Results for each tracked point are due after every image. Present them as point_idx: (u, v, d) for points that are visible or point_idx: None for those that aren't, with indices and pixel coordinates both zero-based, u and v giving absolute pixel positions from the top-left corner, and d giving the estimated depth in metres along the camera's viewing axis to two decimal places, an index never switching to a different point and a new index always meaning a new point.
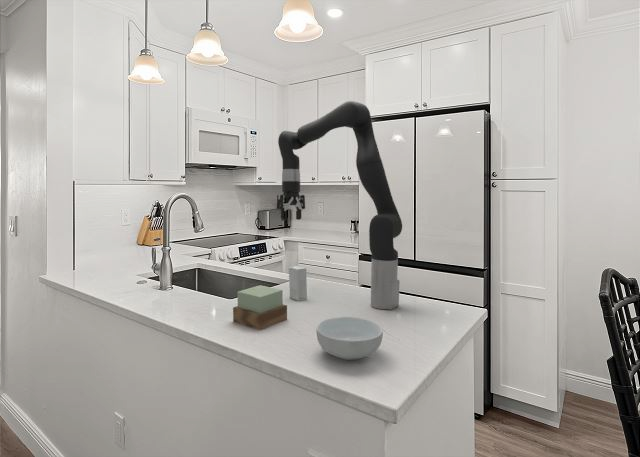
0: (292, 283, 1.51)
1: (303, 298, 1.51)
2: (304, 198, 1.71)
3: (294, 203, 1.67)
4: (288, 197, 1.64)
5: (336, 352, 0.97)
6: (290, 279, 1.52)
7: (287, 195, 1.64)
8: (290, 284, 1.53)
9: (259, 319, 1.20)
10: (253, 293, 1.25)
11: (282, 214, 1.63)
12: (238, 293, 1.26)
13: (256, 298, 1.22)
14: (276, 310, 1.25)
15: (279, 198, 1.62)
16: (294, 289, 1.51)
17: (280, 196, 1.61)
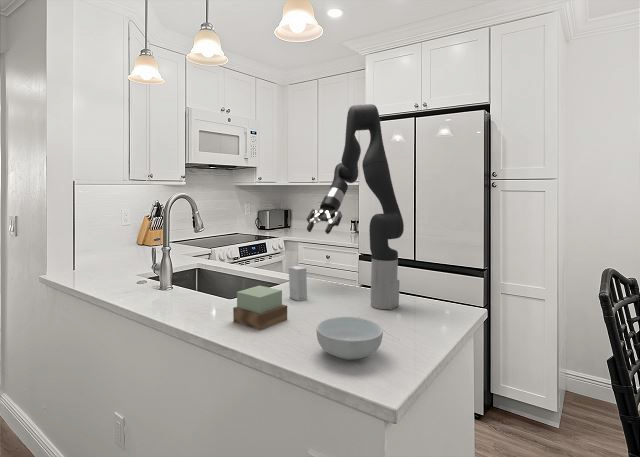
0: (292, 283, 1.51)
1: (303, 298, 1.51)
2: (339, 213, 1.60)
3: (324, 217, 1.62)
4: None
5: (336, 352, 0.97)
6: (290, 279, 1.52)
7: (319, 210, 1.66)
8: (290, 284, 1.53)
9: (259, 319, 1.20)
10: (252, 293, 1.25)
11: None
12: (237, 293, 1.26)
13: (255, 298, 1.22)
14: (276, 310, 1.25)
15: None
16: (294, 289, 1.51)
17: None
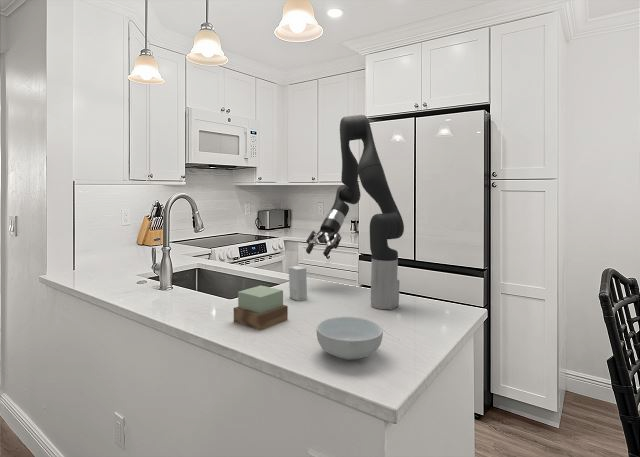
0: (292, 283, 1.51)
1: (303, 298, 1.51)
2: (338, 236, 1.60)
3: (323, 239, 1.62)
4: None
5: (336, 352, 0.97)
6: (290, 279, 1.52)
7: (319, 232, 1.66)
8: (290, 284, 1.53)
9: (260, 319, 1.20)
10: (253, 293, 1.25)
11: None
12: (239, 293, 1.27)
13: (256, 298, 1.22)
14: (277, 310, 1.25)
15: None
16: (294, 289, 1.51)
17: None
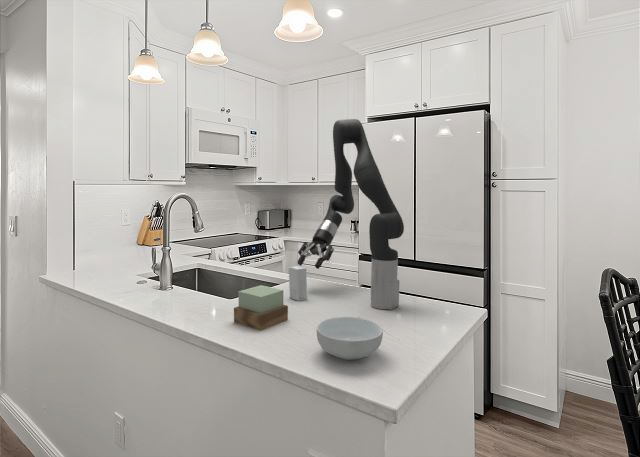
0: (292, 283, 1.51)
1: (303, 298, 1.51)
2: (330, 248, 1.56)
3: (315, 250, 1.59)
4: None
5: (336, 352, 0.97)
6: (290, 279, 1.52)
7: (311, 243, 1.63)
8: (290, 284, 1.53)
9: (260, 319, 1.20)
10: (254, 293, 1.25)
11: None
12: (239, 293, 1.26)
13: (256, 297, 1.22)
14: (277, 310, 1.25)
15: None
16: (294, 289, 1.51)
17: None
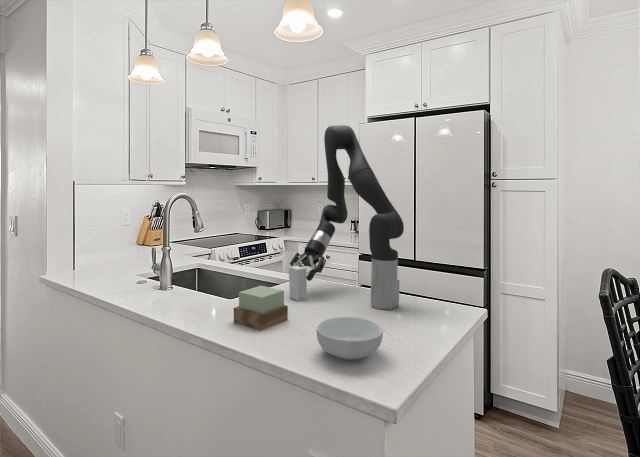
0: (292, 283, 1.51)
1: (303, 298, 1.51)
2: (322, 259, 1.52)
3: (307, 262, 1.55)
4: (303, 256, 1.58)
5: (336, 352, 0.97)
6: (290, 279, 1.52)
7: (303, 254, 1.59)
8: (290, 284, 1.53)
9: (260, 320, 1.20)
10: (254, 293, 1.24)
11: None
12: (239, 293, 1.26)
13: (257, 298, 1.21)
14: (277, 310, 1.25)
15: None
16: (294, 289, 1.51)
17: None
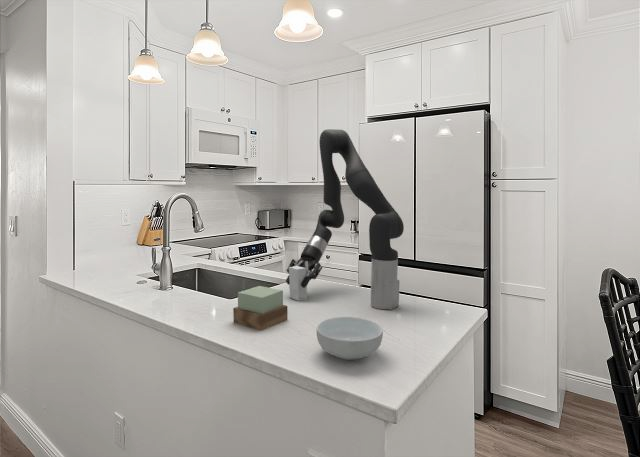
0: (292, 282, 1.51)
1: (303, 298, 1.51)
2: (317, 266, 1.51)
3: (303, 267, 1.54)
4: None
5: (336, 352, 0.97)
6: (290, 279, 1.52)
7: (299, 259, 1.57)
8: (290, 284, 1.53)
9: (260, 320, 1.20)
10: (254, 294, 1.24)
11: None
12: (238, 294, 1.25)
13: (257, 298, 1.21)
14: (276, 311, 1.25)
15: None
16: (294, 289, 1.51)
17: None
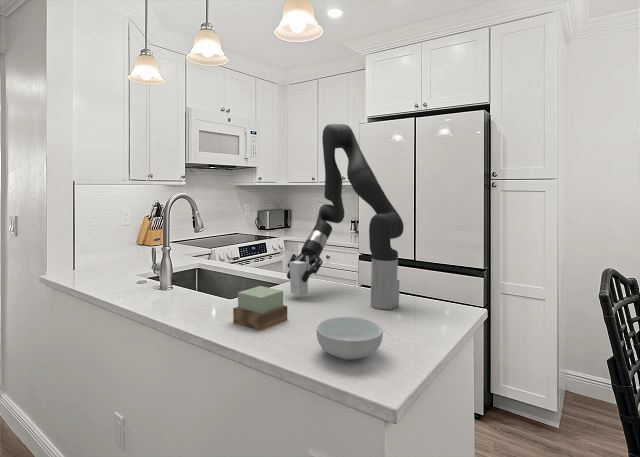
0: (293, 277, 1.51)
1: (304, 292, 1.50)
2: (318, 260, 1.50)
3: None
4: None
5: (336, 352, 0.97)
6: (291, 274, 1.52)
7: (300, 254, 1.57)
8: (290, 279, 1.53)
9: (259, 320, 1.20)
10: (254, 294, 1.24)
11: None
12: (238, 294, 1.26)
13: (256, 298, 1.21)
14: (276, 311, 1.25)
15: None
16: (295, 283, 1.50)
17: None
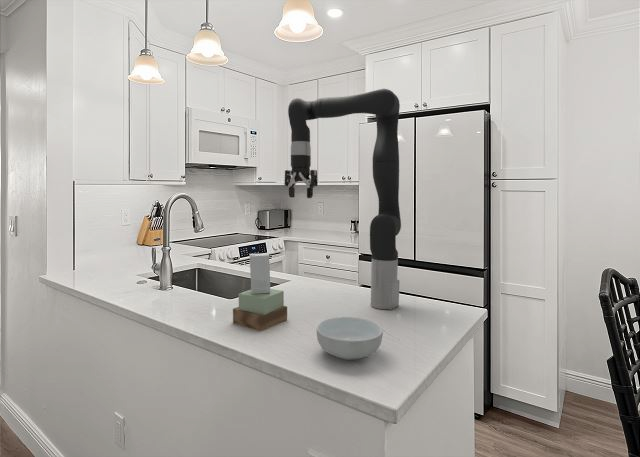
0: (257, 274, 1.23)
1: None
2: (312, 173, 1.47)
3: (300, 179, 1.51)
4: (293, 173, 1.53)
5: (336, 352, 0.97)
6: (253, 270, 1.23)
7: (292, 171, 1.53)
8: (252, 277, 1.23)
9: (259, 320, 1.19)
10: (255, 295, 1.23)
11: None
12: (239, 295, 1.24)
13: (259, 299, 1.21)
14: (276, 311, 1.25)
15: None
16: (262, 281, 1.24)
17: None
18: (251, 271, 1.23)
